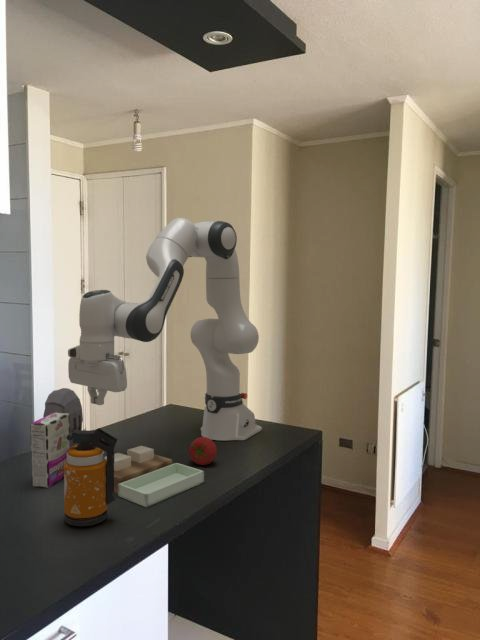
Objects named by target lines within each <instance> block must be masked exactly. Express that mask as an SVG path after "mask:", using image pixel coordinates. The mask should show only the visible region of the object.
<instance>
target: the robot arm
mask: <svg viewBox="0 0 480 640" xmlns="http://www.w3.org/2000/svg"><path fill="white" fill-rule="evenodd" d="M237 238H238V237H237V233H236V230H235V229H234V227H233V225H232V224H230V222H227V221H223V220H221V221H220V220H217V221H210V220H209V221H208V220H207V221H205V220H203V221H200V222H195V223H194V222H192V221H191V220H190V219H187V218H184V217H176V218H173V219H172V220H171V221H170V222H169V223H168V224H167V225H166V226H164V227H163V229H162V230H161V231H160V232H159V234H157V236H156V237H155V239H154V240H153V241H152V243H151V244H150V246H149V247H148V250H147V252H146V256H145V259H146V264H147V266H148V268H149V270H150V271H151V272H152V273H153V274H154V275H155V276H156V277H157V278H158V279H157V281H156V283H155V285H154V287H153V288H152V291H151V292H150V294H149V297H148V298H147V299H146V300H144V301H142V302H139V303H138V302H136V303H135V302H127V301H126V300H122V299H121V298H119V297H117V296H116V295H114V294H113V292H112V291H111V290H108V289H97V290H91V291H88V292H85V293H84V294H83V295H82V297H81V300H80V304H79V315H78V316H79V317H78V318H79V319H78V321H79V322H78V323H79V327H80V336H79V345H78V344H77V345H76V346H74V347H70V348H69V349H68V350H67V356H68V357H69V359H68V368H67V369H68V372H67V373H68V379H69V383H71V384H75V385H80V386H85V387H87V393H88V395H89V397H90V404H92V405H98V406H102V405H104V404H105V397H106V395H107V393H108V392H112V393H120V392H124V391H126V389H127V388H128V379H127V369H126V365H125V361H124V359H123V358H122V357H121V355H117V354H115V337H119V338H125V339H132V340H136V341H140V342H143V343H151V342H152V341H154V340H156V339H157V338H158V337H159V336H160V335H161V333H162V331H163V329H164V325H165V321H166V317H167V314H168V312H169V309H170V307H171V305H172V303H173V301H174V299H175V296H176V294H177V292H178V290H179V288H180V285H181V284H182V281H183V278H184V273H185V272H184V271H185V269H184V266H185V264H186V262H187V261H188V259H189V258H192V257H193V258H204V259H205V262H206V263H205V265H206V267H205V294H206V298H205V299H206V302H207V304H208V305H209V307H211V308H213V309H214V311H215V313H216V315H217V318H204V319H200V320H196V322H194V323H193V325H192V327H191V328H190V329H191V330H190V339H191V343H192V344H193V345H194V347H196V349H197V350H198V352H199V353H200V355H201V358H202V360H203V363H204V367H205V374H206V393H205V396H204V404H205V407H204V411H203V419H202V426H201V427H200V433H201V437H207V438H209V439H211V440H212V441H213V440H214V441H245V440H247V439H249V438H251V437H252V436H254V435H256V434H258V433H259V432H261V431H262V430H263V429H262V428H263V427H262V426H260V425H258V424H256V417H255V413H254V411H252V410H251V409H250V408H249V407H248V406H246V405H245V404H244V401H243V400H247V398H248V394H247V393H246V392H245V393H244V392H241V391H240V390H241V389H240V387H241V386H240V385H241V384H240V379H241V377H240V376H241V373H240V369H239V368H238V367H237V366H236V365H235V363H233V362H232V360H231V358H230V355H229V354H232V355H233V354H234V355H244V354H251V353H252V352H254V351H255V349H256V348H257V347H258V344H259V339H260V337H259V336H260V335H259V332H258V329H257V327H256V326H255V325H254V324H253V323H252V322H251V321H250V320H249V318H248V317H247V314H246V312H245V311H244V310H245V309H244V308H243V304H242V300H241V299H242V298H241V287H240V266H239V260H238V258H239V257H238V254H237V251H236V246H237V241H238V239H237Z"/></svg>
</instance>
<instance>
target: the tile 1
mask: <svg viewBox="0 0 480 640" xmlns="http://www.w3.org/2000/svg"><path fill="white" fill-rule="evenodd" d="M105 459H106V460H107V455H106V456H105ZM130 466H131V456H127V454H124V453H120V452H116V453H114V471H118V470H121V469H124V468H127V467H130Z"/></svg>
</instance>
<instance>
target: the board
mask: <svg viewBox="0 0 480 640" xmlns="http://www.w3.org/2000/svg"><path fill="white" fill-rule="evenodd" d="M171 464H173V459H172V458H168V457H167V456H166V457H165V456H162V455H160V454H155V453H154V458H153V459H150V460H148V461H145V462H142V463H138V462H135V461H132V460H131V466H130V467H127V468H124V469H121V470H118V471H114V492H115V494H116V495H118V484H120V483H122V482H125V481H128V480H130V479H133V478H136V477H139V476H141V475H144V474H147V473H150V472H152V471H155V470H158V469H160V468H163V467H166V466H169V465H171Z"/></svg>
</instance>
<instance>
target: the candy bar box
mask: <svg viewBox="0 0 480 640" xmlns="http://www.w3.org/2000/svg"><path fill="white" fill-rule="evenodd" d="M29 424H30V425H29V426H30V451H31V453H30V454H31V483H32V484H31V486H32V487H33V488H45V489H49V488H52V486H54V485H55V484H57V483H58V482H60V481H61V480H63V479H64V464H65V462H66V461H67V452H68V450H69V448H70V440H67V438H66V437H67V435H68V434H69V433H70V431H69V414H68V413H52V414H50V415H48V416H45V417H41V418H39V419H37V420H35V421H33V422H31V423H29Z"/></svg>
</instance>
